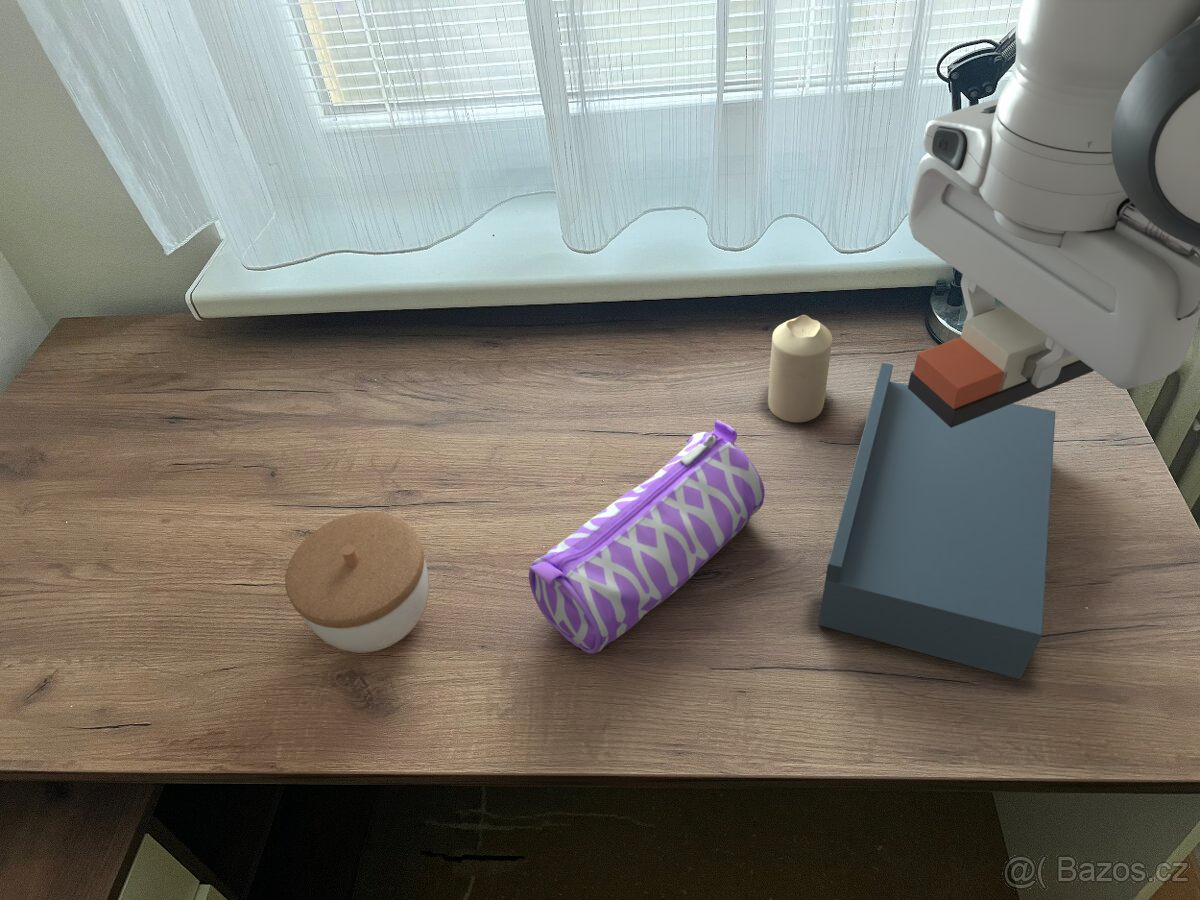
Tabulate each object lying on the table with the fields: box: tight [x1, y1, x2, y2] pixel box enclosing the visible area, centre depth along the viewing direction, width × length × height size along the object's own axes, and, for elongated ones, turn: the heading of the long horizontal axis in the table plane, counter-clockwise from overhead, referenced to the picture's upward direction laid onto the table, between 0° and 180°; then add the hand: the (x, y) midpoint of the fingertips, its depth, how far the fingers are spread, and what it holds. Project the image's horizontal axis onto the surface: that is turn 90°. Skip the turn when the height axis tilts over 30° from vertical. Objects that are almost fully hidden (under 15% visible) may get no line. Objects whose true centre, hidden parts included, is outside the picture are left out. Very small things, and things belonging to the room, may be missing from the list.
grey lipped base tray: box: [817, 362, 1056, 680], centre depth 72 cm, size 15×24×8 cm, turn 158°
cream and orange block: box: [907, 305, 1095, 428], centre depth 59 cm, size 12×5×5 cm, turn 113°
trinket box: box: [284, 511, 430, 654], centre depth 70 cm, size 11×11×9 cm
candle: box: [767, 314, 833, 423], centre depth 84 cm, size 6×6×10 cm
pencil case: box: [528, 419, 766, 655], centre depth 72 cm, size 22×9×10 cm, turn 136°
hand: (1007, 355), depth 59 cm, fingers closed on cream and orange block, 4 cm apart
